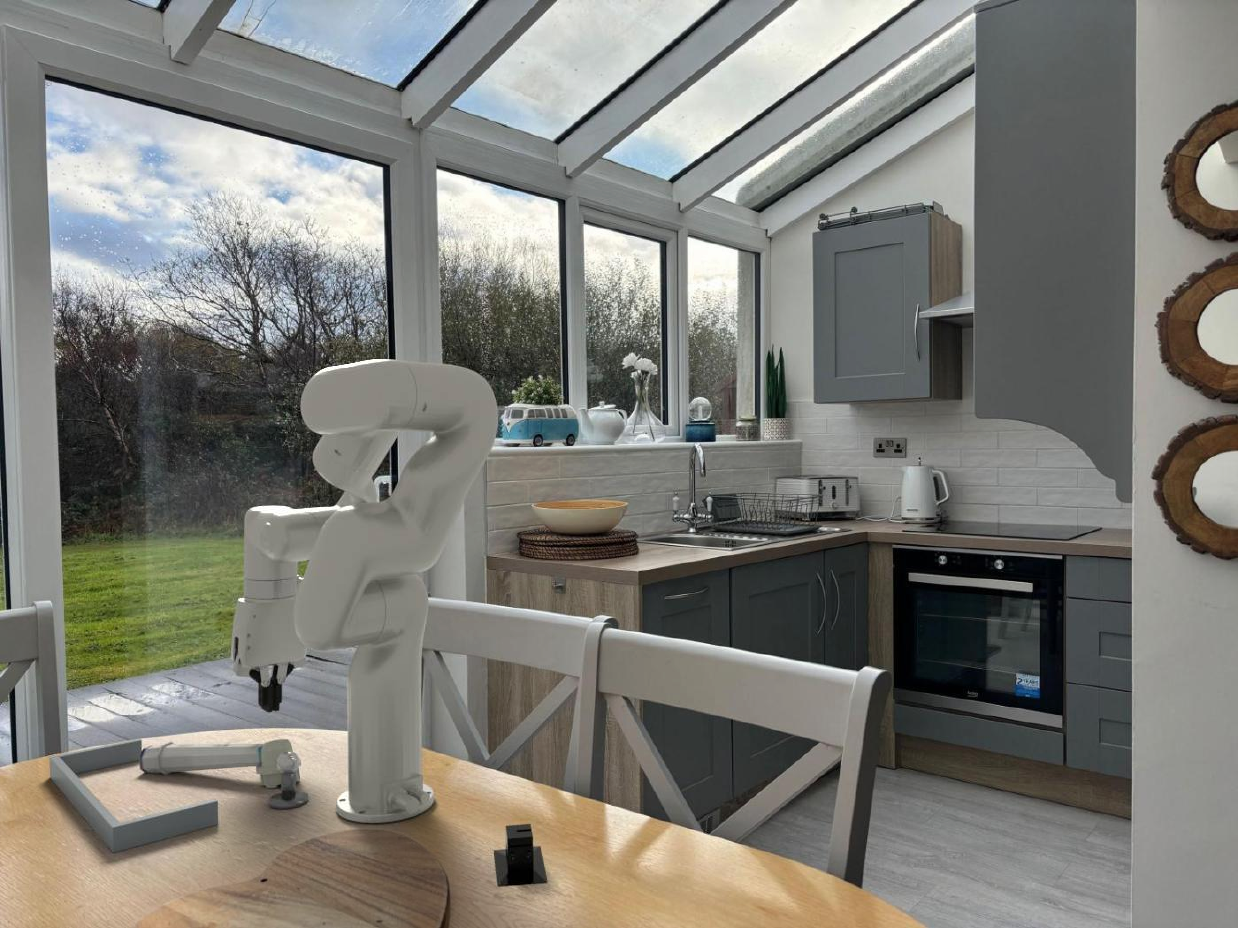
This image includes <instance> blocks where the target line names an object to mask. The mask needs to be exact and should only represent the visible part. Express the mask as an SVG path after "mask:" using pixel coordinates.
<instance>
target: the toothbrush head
mask: <svg viewBox="0 0 1238 928" xmlns="http://www.w3.org/2000/svg"><path fill="white" fill-rule="evenodd" d="M287 751H291V752H294V750H293V745H292V743H291V742H290V739H288V738H287V739H286V738H281V739H275V740H270V741H267V742H264V743H195V744H194V743H174V742H173V741H167V742H166V743H164V744H157V745H156V744H155V745H149V746H147V747H144V748H142V752H141V755H140V757H139V760H138V764H139V770H141V771H142V772H143V773H144V774H145V773H146V774H147V773H148V774H163V775H164V776H165V775H169V774H170V773H177V772H178V773H180V772H191V771H192V772H194V771H206V770H207V771H208V770H220V769H221V770H222V769H223V770H224V769H233V768H234V769H235V768H249V767H250V768H251V767H255V772H256V774H257V775H259V778H260V784H261V785H260V786H261V787H262V786H265V787H266V788H267V789H274V788H277V787H278V785H281V773H280V772H279V771H278V770H277V767H276V761H277V759H278V757H279V756H280V755H281V754H282V753H284V752H287ZM299 759H300V765H299V767H300V766H302V760H301V757H299ZM299 767H298V769H297V770H296V771H295V783H296V782H298V781H300V780H301V776H300V768H299Z"/></svg>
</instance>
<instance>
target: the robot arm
mask: <svg viewBox="0 0 1238 928" xmlns="http://www.w3.org/2000/svg"><path fill="white" fill-rule="evenodd" d="M498 408H499V407H498V403H497V400H496V396H495V394H494V391H493V388H492V386H491V384H490V383H489V381H487V380H486V379H485V378H484V377H483V376H482V375H481V374H480V373H478V372H476V371H474V370H472V369H470V368H467V367H463V366H459V365H455V364H448V363H447V364H446V363H440V362H438V363H437V362H426V361H425V362H423V361H422V362H421V361H411V360H410V361H409V360H401V359H400V360H399V359H385V358H384V359H383V358H382V359H370V360H369V359H368V360H363V361H359V362H354V363H349V364H343V365H337V366H329V367H326V368H324V369H321V370H319V371H318V372H317V373H315V374H314V375H313V376H312V377H311V378H310V379H309V381H308V382H307V383H306V385H305V387H304V389H303V391H302V393H301V399H300V413H301V417H302V419H303V422H304V424H305V425H306V426H307V428H308V429H310V431H312V432H314V433H316V434H318V435H321V437H320V439H319V441H318V443H317V444H316V446H315V448H314V450H313V452H312V463H313V467H314V468H315V470H316V471H317V473H318V475H320V476H321V478H322V479H324V480H325V481H327V482H328V483H329V484H330V485H332V486H334V487H335V488H337V489H340V490H342V491H343V494H342V495H341V497H340V498H339V500H338V501H337V502H336V504H335V505H334V506H322V507H321V506H320V507H310V508H309V507H307V508H297V509H294V508H292V507H290V506H283V505H261V506H254V507H251V508H249V509H248V510H247V511H246V513H245V515H244V528H243V530H244V531H243V532H244V533H243V534H244V535H243V536H244V537H243V539H244V540H243V542H244V544H243V545H244V546H243V549H244V551H243V553H244V554H243V556H244V557H243V566H244V567H243V597H242V598H238V600H237V603H236V607H235V611H234V616H233V617H234V618H233V625H232V632H231V633H232V634H231V643H230V646H231V647H230V656H231V660H232V661H233V662H234V665H233V669H232V673H233V675H234V676H236V677H240V678H241V677H242V678H251V679H252V680H254V681H255V683H257V685H258V687H257V688H258V690H257V691H258V692H257V693H258V696H257V703H258V706H259V707H260V708H261V709H262V710H263V711H265V712H266V713H269V714H270V713H273V712H279V711H280V704H282V702H283V684H284V683H286V681H287V680H286V679H287V678H288V676H289V675H290V674H291V673H292V672H293V671H294V670H297V669H300V668H302V667H303V666H305V665H306V664H307V659H306V656H307V652H308V651H307V650H308V648H309V649H310V650H312V651H317V652H323V653H324V652H334V651H340V650H345V649H349V648H350V649H351V648H354V647H356V649H355V651H354V652H353V656H352V657H351V661H350V663H349V667H348V672H347V680H346V684H347V686H346V689H347V690H346V693H347V694H346V696H347V697H346V698H347V699H346V700H347V701H346V703H347V705H346V708H347V714H346V716H347V781H348V782H347V784H348V786H347V790H345V791H344V792H343V793H341V794H340V795H339V797H337V799H336V801H335V810H336V813H337V814H338V815H339V816H340V817H341V818H343V819H345V820H347V821H351V822H356V823H363V824H364V823H365V824H382V823H383V824H384V823H391V822H399V821H402V820H407V819H409V818H413V817H415V816H418V815H421V814H423V813H424V812H426V811H427V810H428V809H429V808H430V807H432V806H433V804H434V802H435V801H434V800H435V792H434V789H433V788H432V787H431V786H429V785H428V784H426V783H424V776H423V755H422V754H423V753H422V752H423V750H422V748H423V747H422V746H423V745H422V742H423V741H422V733H423V731H422V656H423V655H422V653H423V644H424V643H423V641H424V635H425V629H426V625H427V618H428V612H429V595H428V589H427V586H426V584H425V583H424V580H423V579H422V578H421V577H420V576H419V575H418V574H420V573H423V572H426V571H428V570H429V569H431V568H432V567H433V566H434V565H435V564H437V562H438V560H439V558H440V557H441V554H442V553H443V551H444V549H445V546H446V544H447V543H448V539H449V537H450V535H451V533H452V531H453V529H454V528H453V527H454V526H455V523H456V521H457V519H458V517H459V515H460V512H461V510H462V508H463V505H464V503H465V501H466V498H467V497H468V496H467V495H468V493H469V491H470V489H471V487H472V485H473V484H474V481H475V480H476V478H477V476H478V475H479V473H480V471H481V470H482V468H483V467H484V465H485V463H486V461H487V458H488V457H489V455H490V453H491V451H492V448H493V446H494V444H495V441H496V437H497V432H498V426H499V410H498ZM401 432H413V433H414V432H422V433H423V432H429V433H430V432H433V433H432V436H431V438H430V439H429V440H428V441H426V442H425V443H424V444H423V445H422V446H421V447H420V448H418V449H417V450H416V451H415V452H414V453H413V454H412V456H410V458H409V460H408V461H407V463H406V464H405V466H404V467H403V469H402V471H401V473H400V477H399V479H398V481H397V484H396V486H395V488H394V490H393V491H392V493H391V495H389V496H388V498H386V499H384V500H382V501H378V500H377V499H378V498H377V489H376V486H375V482H374V479H373V477H374V475H375V473H376V472H377V470H378V468H379V467H380V465H381V464H382V462H383V460H384V459H385V457H386V456H387V454H388V453H389V451H390V449H391V448H392V446H393V445H394V443H395V441H396V439H397V438H398V436H400V433H401ZM377 501H378V502H377ZM304 561H305V562H307V561H308V562H307V566H306V569H305V571H304V574H303V576H302V577H300V575H299V574H298V569H299V568H298V567H299V562H304ZM270 666H271V673H269V667H270Z"/></svg>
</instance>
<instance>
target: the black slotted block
mask: <svg viewBox="0 0 1238 928" xmlns="http://www.w3.org/2000/svg"><path fill="white" fill-rule="evenodd" d="M531 825H532V824H531V823H524V824H511V825H505V848H504V849H503V848H502V849H501V848H500V849H494V850H493V858H494V870H495V875H496V885H497V886H496V887H497V888H502V887H503V888H504V887H515V886H528V885H541V884H548V877H547V872H546V865H545V862H544V856H543V853H542V846H541V845H535V846H534V835H533V831H532V826H531Z"/></svg>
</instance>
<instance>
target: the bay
mask: <svg viewBox="0 0 1238 928" xmlns="http://www.w3.org/2000/svg"><path fill="white" fill-rule="evenodd" d="M142 743H143V740H142V739H141V738H136V739H131V740H125V741H121V742H117V743H112V744H107V745H106V744H105V745H101V746H96V747H91V748H86V749H81V750H76V751H72V752H71V751H70V752H67V753H66V752H65V753H62V754H61V753H60V754H56V755H52V756H49V778H50V779H51V780H52V782H53V783H54V784H55V785H56V786H57V787H58V788H59V790H60V791H61V792H62V794H63V795H64V796H65V797H66V798H67V799H68V801H69V802H70V803H71V804H72V806H74V808H75V809H76V810H77V812H78V813H79V815H81V817H83V818H84V819H85V821H86V822H87V824H89V825H90V827H91V828H92V830H94V832H95V833H96V834H97V836H98V837H100V839H101V840H102V842H103V843H104V844H105V845H106V846H107V847H108V849H109V850H110V851H111V852H112V853H113V854H114V853H118V852H122V851H125V850H128V849H133V848H135V847H136V848H137V847H140V846H143V845H147V844H150V843H151V844H152V843H155V842H158V841H162V840H166V839H169V838H173V837H177V836H181V835H184V834H188V833H191V832H196V831H198V830H203V829H206V828H209V827H212V826H217V825H219V801H218V800H217V798H212V799H208V800H205V801H200V802H196V803H192V804H189V805H188V804H187V805H185V806H180V807H176V808H173V809H168V810H163V811H161V812H158V813H153V814H149V815H144V816H141V817H136V818H133V819H130V820H125V821H122V822H120V821H119V820H118V819H117V818H116V817H115V815H113V814H112V812H111V811H110V810H109V809H108V808H107V807H106V806H105V805H104V804H103V803H102V802H101V801H100V799H99V798H98V797H97V796H96V795H95V794H94V793H93V791H91V790H90V789H89V787H87V785H86V784H85V783H84V782H83V781H82V780H81V779H80V778H79V777H78V775H77V774H82V773H86V772H91V771H95V770H96V771H97V770H100V769H105V768H111V767H114V766H118V765H124V764H128V763H132V762H137V761H138V762H139V757H140V755H141V752H142V750H143V747H142V746H143V745H142Z"/></svg>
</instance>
